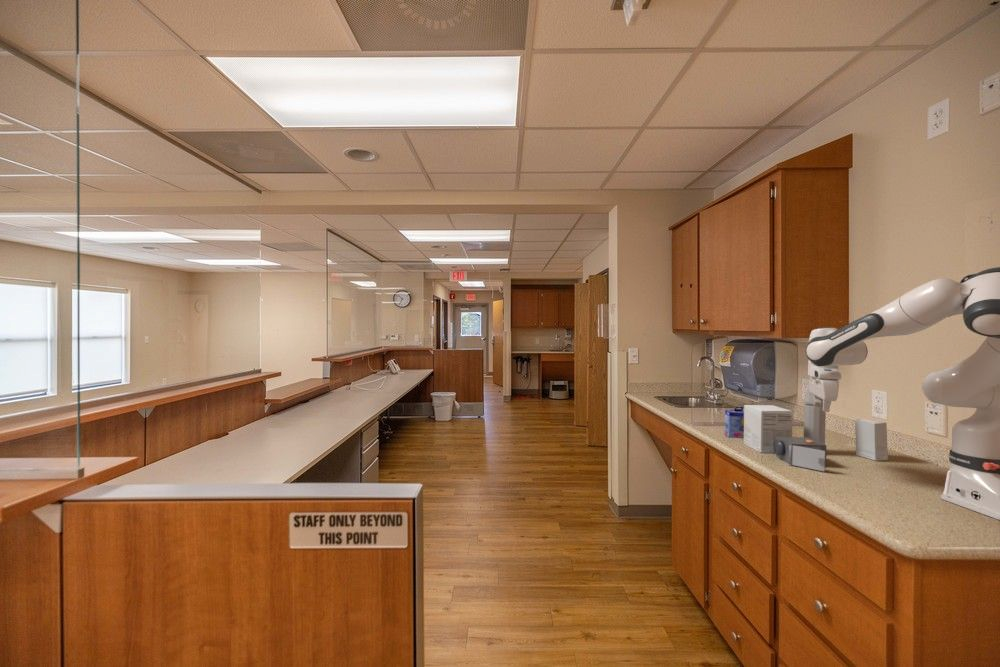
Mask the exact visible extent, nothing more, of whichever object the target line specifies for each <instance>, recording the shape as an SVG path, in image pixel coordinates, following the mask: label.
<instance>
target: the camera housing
mask: <svg viewBox="0 0 1000 667" xmlns="http://www.w3.org/2000/svg"><path fill="white" fill-rule="evenodd" d="M789 445H792V452H793V445H794V446H800V447H805V448H811V449H817V450H822V451H825V468H826V467H827V445H826V443H825V444H822V443H820V442H818V441H815V440H813V439H811V438H809V437H804V436H803V437H802V436H792V437H781V436H776V441H774V444H773V448H774V452H775V453H774V454H775V457H776V456H777V457H776V458H778V459H779V460H782V461H784V462H785V463H786V464H789Z"/></svg>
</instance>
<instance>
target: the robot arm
mask: <svg viewBox="0 0 1000 667" xmlns="http://www.w3.org/2000/svg"><path fill="white" fill-rule="evenodd" d="M958 315H962V317H963V318H962V319H963V323H964V325H965V326H966V328H967V330H970V332H973V333H974V334H977V335H979V336H983V337H986V338H985V339H984V341H983V342H982V343H981V345H980V346H979V347H978V348H977V349H976V350H975V352H973V353H972V354H971V355H970V356H968V357H967V358H965V359H963V360H961V361H960V362H958V363H956V364H955V365H952V366H950V367H949V366H948V367H947V368H944V369H941V370H938V371H932V372H930V373H929V374H927V376H925V378H924V379H923V380H922V385H921V391H922V393H923V395H924V396H925V398H927V400H928V401H929V402H931V403H934V404H937V405H943V406H947V407H951V408H954V407H955V408H970V409H976V410H975V411H974V413H973V414H972V415H970V417H967V418H965V419H961V420H959V421H957V422H955V423H954V425H953V426H952V429H951V430H952V431H951V448H950V449H949V452H948V453H949V454H948V461H949V463H950V465H949V468H948V470H947V473H946V476H945V477H946V478H945V483H944V489H943V491H942V493H941V495H940V499H941V500H944V501H946V502H949V503H951V504H955V505H957V506H960V507H963V508H965V509H968V510H971V511H974V512H977V513H979V514H982V515H984V516H985V515H986V516H987V517H990V518H992V519H995V520H999V521H1000V266H999V267H998V266H997V267H991V268H987V269H985V270H982V271H978V272H977V273H972V274H971V273H970V274H968V275H966V276H964V277H963V278H962V279H961V280H960V282H958V281H956V280H953V279H950V278H944V277H943V278H942V277H941V278H936V279H932V280H930V281H927V282H925V283H923V284H921V285H919V286H917V287H914V288H913V289H911V290H909V291H907V292H905V293H904V294H902V295H900V296H899V297H897V298H896V299H894V300H892V301H890V302H889V303H887V304H886V305H883V306H882V307H880V308H878V309H876V310H874V311H872V312H870V313H869V314H866V315H864V316H863V317H860V318H857V319H856V320H853V321H851V322H850V323H849V322H848V324H846V325H844V326H842V327H840V328H836V327H834V326H833V327H832V326H825V327H817V328H814V329H813V330H811V332H810V334H809V338H808V343H807V345H806V347H805V354H806V357H807V359H808V361H807V376H809V382H808V383H809V384H808V391H809V392H810V393H812V394H813V397H814V402H815V404H814V405H815V406H816V407H821V399H823V406H822V411H824V412H826V413H829V412H830V409H831V404H832V402H836V401H837V399H838V398H839V390H840V388H839V387H840V381H839V380H842V373H841V372H840V369H839V366H855V365H859V364H862V363H863V362H864V361H865V360H866V358H867V357H868V352H869V351H868V347H867V344H866V343H865V342H864V341H866V340H870V339H877V338H883V337H884V338H885V337H897V336H908V335H911V334H912V335H913V334H915V333H918V332H922V331H924V330H926V329H929V328H931V327H932V326H935V325H936V324H938V323H940V322H942V321H943V320H945V319H947V318H950V317H953V316H958Z"/></svg>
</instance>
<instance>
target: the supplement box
mask: <svg viewBox="0 0 1000 667" xmlns="http://www.w3.org/2000/svg"><path fill="white" fill-rule="evenodd" d="M743 410H744V438H743V445H745V446H746V447H749V448H751V449H753V450H754V451H757V452H759V453H764V454H765V453H767V454H768V453H770V454H772V453H773V454H776V453H775V452H774V448H773V444H774V441H776V436H781V437H793V420H794V419H793V416H794V415H793V414H794V413H793V412H794V411H793V410H790V409H786V408H783V407H781V406H780V407H779V406H776V405H774V404H773V405H772V404H770V405H769V404H764V405H762V404H744V405H743Z"/></svg>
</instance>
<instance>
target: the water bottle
mask: <svg viewBox="0 0 1000 667" xmlns="http://www.w3.org/2000/svg"><path fill="white" fill-rule="evenodd" d="M802 404H804V406H803V409H804V410H803V411H804V412H803V437H809V438H811V439H813V440H815V441H818V442H820V443H822V444H825V445H826V419H827V418H826V416H827V415H826V414H827V412H824V411H822V406H823V399H821V407H816V406H815V405H814V404H815V402H814V397H813V394H812V393H810V392H809V390H805V394H804V402H802Z"/></svg>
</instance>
